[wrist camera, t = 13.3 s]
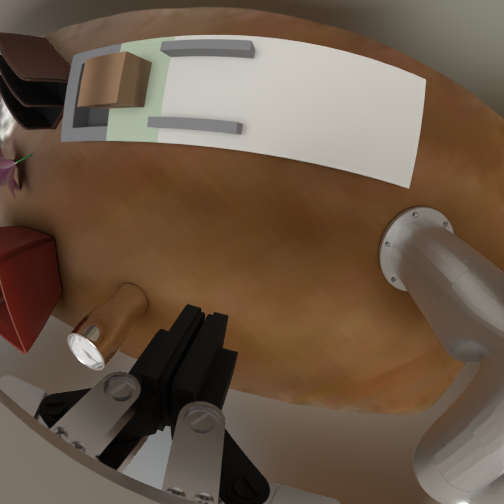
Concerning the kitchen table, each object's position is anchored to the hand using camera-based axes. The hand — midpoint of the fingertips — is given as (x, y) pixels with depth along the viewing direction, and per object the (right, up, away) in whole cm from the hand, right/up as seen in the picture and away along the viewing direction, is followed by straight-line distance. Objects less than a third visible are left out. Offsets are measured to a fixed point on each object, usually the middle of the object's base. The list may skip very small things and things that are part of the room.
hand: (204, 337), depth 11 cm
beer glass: (-18, -4, +33) cm, 38 cm away
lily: (-43, +21, +27) cm, 55 cm away
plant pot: (-43, +2, +34) cm, 55 cm away
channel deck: (-1, +23, +19) cm, 30 cm away
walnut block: (-14, +24, +16) cm, 32 cm away
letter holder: (-35, +35, +20) cm, 53 cm away
